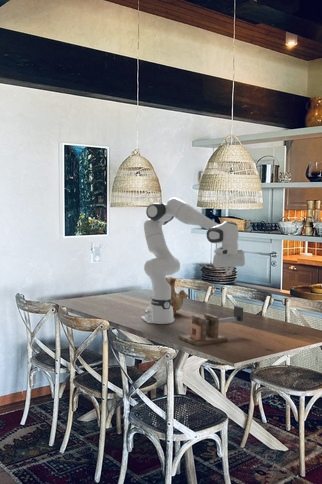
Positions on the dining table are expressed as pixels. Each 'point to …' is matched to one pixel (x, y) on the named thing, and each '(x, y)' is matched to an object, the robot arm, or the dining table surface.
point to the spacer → (198, 331)
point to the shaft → (237, 317)
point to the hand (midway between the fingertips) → (228, 274)
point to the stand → (205, 331)
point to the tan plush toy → (176, 295)
